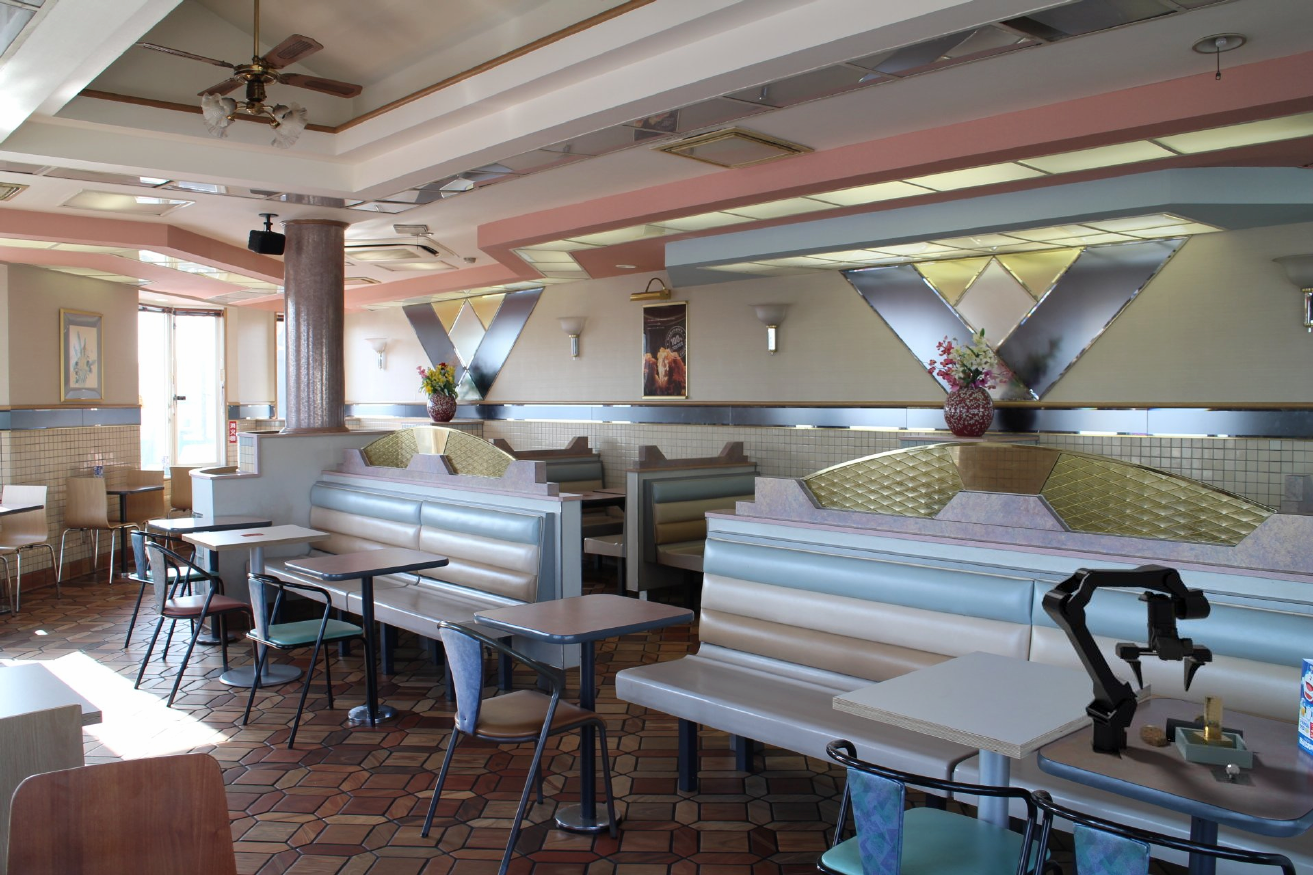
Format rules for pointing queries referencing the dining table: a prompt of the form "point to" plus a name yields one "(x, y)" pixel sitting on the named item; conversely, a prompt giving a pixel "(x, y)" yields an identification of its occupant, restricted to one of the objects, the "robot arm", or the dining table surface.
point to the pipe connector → (1192, 726)
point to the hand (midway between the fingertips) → (1163, 690)
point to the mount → (1232, 776)
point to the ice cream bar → (1153, 736)
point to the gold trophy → (1212, 725)
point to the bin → (1214, 750)
